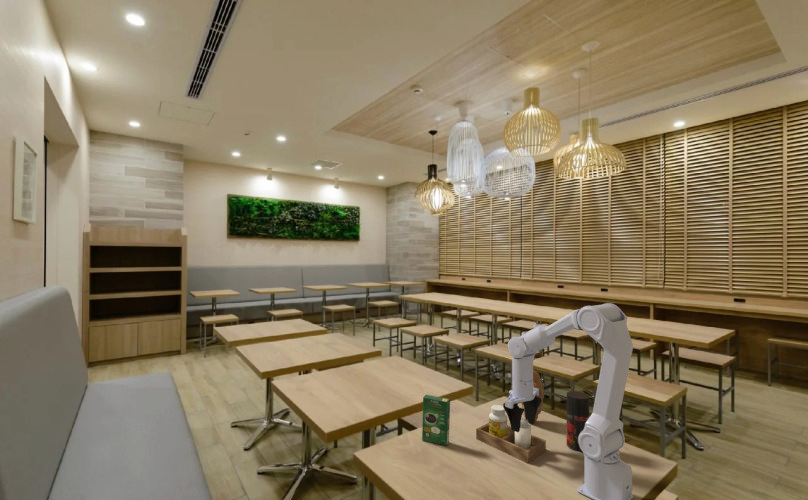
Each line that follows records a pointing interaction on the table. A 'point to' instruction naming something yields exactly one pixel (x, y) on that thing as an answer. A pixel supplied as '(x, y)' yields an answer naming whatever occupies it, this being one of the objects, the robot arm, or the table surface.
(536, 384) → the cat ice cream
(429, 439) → the coffee box
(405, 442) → the table surface
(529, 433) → the shaker
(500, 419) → the supplement bottle
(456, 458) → the table surface
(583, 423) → the deodorant
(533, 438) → the caddy
